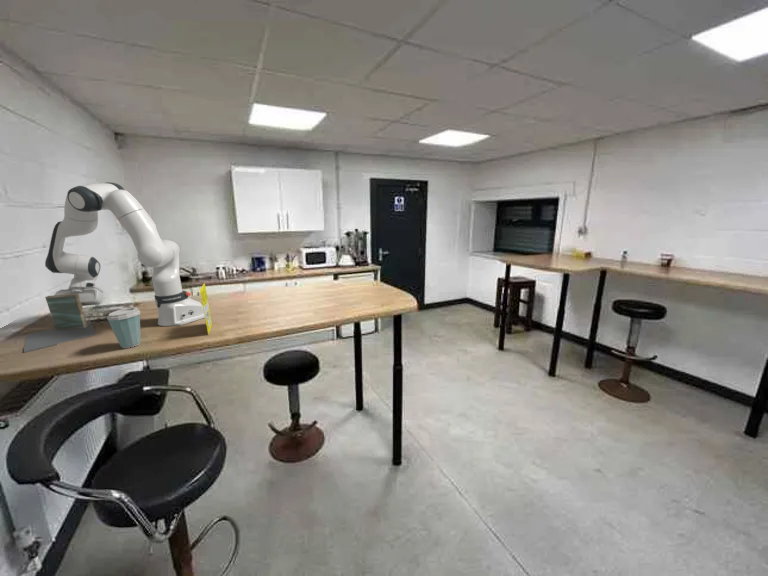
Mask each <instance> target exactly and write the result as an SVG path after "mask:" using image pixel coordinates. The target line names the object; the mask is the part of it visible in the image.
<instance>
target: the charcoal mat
mask: <svg viewBox="0 0 768 576" xmlns="http://www.w3.org/2000/svg"><path fill="white" fill-rule="evenodd" d="M86 321H87V324H88V326H87V327H85V328H74V329H62V330H56V329H55V327H54V328H51V329H46V330H40V331H36V332H32V333H28V334H27V333H26V335H25V341H24V347H23V353H29V351H30V352H33V351H37V349H38V350H42V349H46V348H50V347H49V346H51V347H54V346H53V345H55V346H58V345H57V344H59V345H60V344H62V343H67V342H71V341H75V340H79V339H84V338H88V337H92V336H96V335H97V333H96V331H95V329H94V326H93V322H92V321H91V320H86ZM45 347H46V348H45ZM41 348H42V349H41Z"/></svg>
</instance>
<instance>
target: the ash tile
mask: <svg viewBox="0 0 768 576" xmlns="http://www.w3.org/2000/svg"><path fill="white" fill-rule="evenodd" d="M44 299H45V301H46V304H47V307H48V310H49V313H50V316H51V319H52V322H53V325H54V328H55V329H56V330H62V329H74V328H85V327H87V326H88V324H87V321H88V320H87V318H86V314H85V311H84V308H83V307H84V306H82V304H81V301H80V297H79V294H68V295H55V294H53V295H47V296H45V297H44Z"/></svg>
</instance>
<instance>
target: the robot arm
mask: <svg viewBox="0 0 768 576" xmlns="http://www.w3.org/2000/svg"><path fill="white" fill-rule="evenodd" d="M102 210H103V211H105V210H109V212H111V213H112V214H113V215H114V217H115V218H116V219H117V221H118V222H119V223H120V224H121V226H122V227H123V229H124V230H125V231H126V232H127V234H128V235H129V237H130V238H131V240H132V242H133V245H134V247H135V249H136V252H137V259H138V261H139V262H140V264H142V265H143V266H144V267H148V268H152V269H153V271H152V276H151V282H152V286H153V291H154V301H155V305H156V307H157V317H158V318H157V325H158V326H161V327H169V326H171V327H172V326H175V327H178V326H179V327H180V326H184V325H185V324H188V323H193V322H195V321H199V320H201V319H205V315H204V310H203V305H202V302H200V301H198V300H196V299H193V298H191V295H192V293H191V292H189V291H186V290H183V286H182V281H181V277H180V276H181V274H180V254H181V248H180V246H179V244H178V243H177V242H175V241H173V240H170V239H162V238H161V237H160V235H159V234H160V233H159V231H158V230H157V225H156V222H154V220H153V219H152V217H151V215H150V214H149V213H148V212H147V211H146V209H145V208H144V206H143V205H141V203H140V201H138V200H137V198H136V197H135V196H134V195H132V194H131V193H130V192H129V191H127V190H126V189H125V188H124V187H123V186H121V185H120V184H118V183H115V182H101V183H100V182H99V183H94V182H93V183H87V184H83V185H77V186H74V187H71V188H70V189H69V190H68V191H67V194H66V197H65V201H64V210H63V211H64V212H63V213H64V217H63V219H62V220H61V221H57V223H56V224H55V225H54V227H53V230H52V234H51V237H50V242H49V248H48V252H47V255H46V257H45V261H44V262H45V263H44V264H45V265H44V266H45V268H46V270H48V271H50V272H51V273H53V274H69V275H74V276H73V278H72V279H71V280H70V283H69V287H68V288H65V289H60V290H57V291H56V292H55V294H54V295H68V294H79V297H80V301H81V304H82V307H85V306H86V307H87V306H98V305H101V304H103V303H102V302H103V300H104V293H105V289H104V288H103V287H102V286H100V285H99V284H97V283H96V281H97V280H98V277H99V273H100V270H101V263H100V262H99V260H97V259H96V258H95V257H94V256H90V255H84V254H77V253H75V254H74V253H70V252H68V253H67V252H65V251H64V245H65V241H66V238H71V237H77V236H85V235H88V234H91V233H93V232H94V231H96V229H97V227H98V223H99V215H98V214H99V211H102Z"/></svg>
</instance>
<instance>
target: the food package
mask: <svg viewBox="0 0 768 576" xmlns="http://www.w3.org/2000/svg"><path fill="white" fill-rule="evenodd" d="M199 293H200V298H201V304H202V305H203V310H204V315H205V318H204V320H205V324H206V329H207V330H206V331H207V335H208V336H209V335H210V331H211V328H212V324H213V320H212V314H211V309H210V304H209V303H210V302H209V300H208V293H207V287H206V282H204V283H203V284H202V286H201V288H200V289H199Z"/></svg>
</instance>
